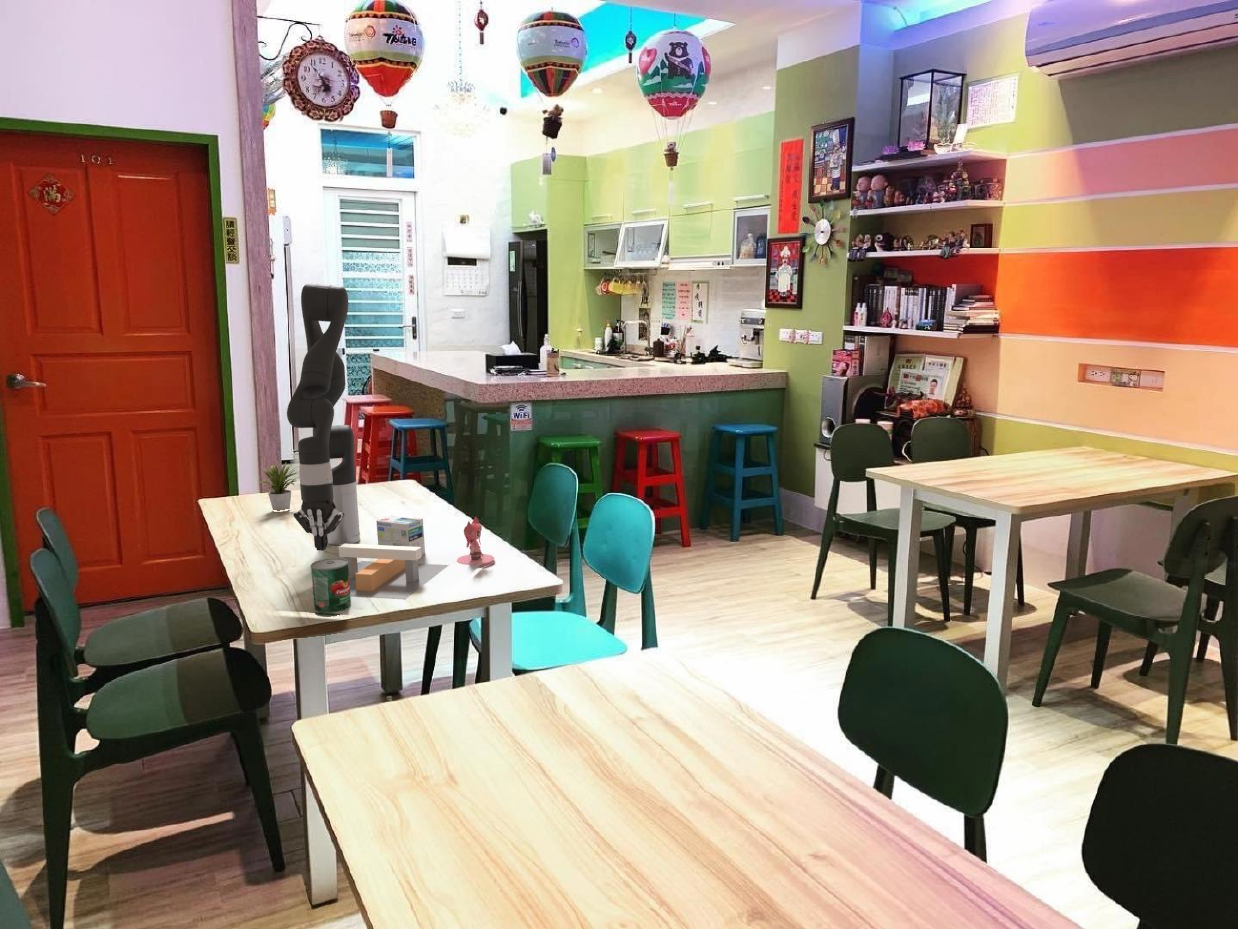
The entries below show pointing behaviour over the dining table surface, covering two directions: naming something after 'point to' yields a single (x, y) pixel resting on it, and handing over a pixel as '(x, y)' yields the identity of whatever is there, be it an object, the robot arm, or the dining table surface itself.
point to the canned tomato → (330, 586)
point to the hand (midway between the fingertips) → (321, 549)
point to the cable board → (394, 579)
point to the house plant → (279, 487)
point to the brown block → (378, 573)
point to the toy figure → (475, 546)
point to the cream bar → (380, 552)
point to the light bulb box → (401, 532)
